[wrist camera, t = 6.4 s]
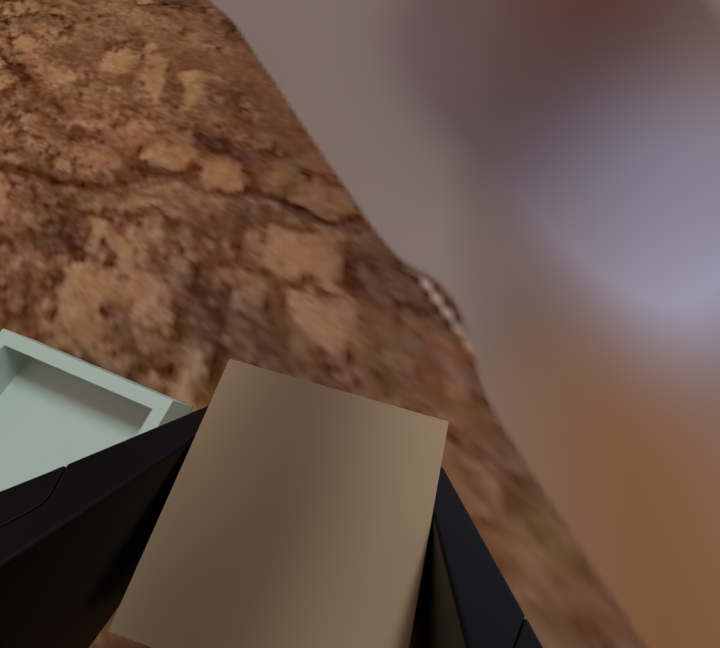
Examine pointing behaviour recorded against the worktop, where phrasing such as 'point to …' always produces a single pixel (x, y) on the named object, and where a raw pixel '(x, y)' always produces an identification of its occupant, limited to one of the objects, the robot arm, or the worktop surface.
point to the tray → (66, 409)
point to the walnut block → (290, 523)
